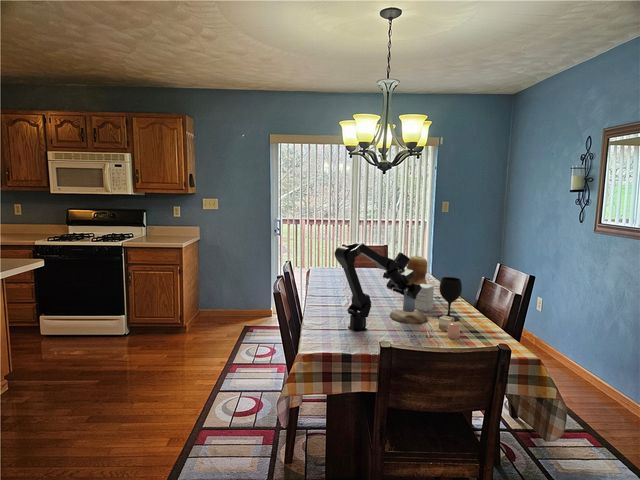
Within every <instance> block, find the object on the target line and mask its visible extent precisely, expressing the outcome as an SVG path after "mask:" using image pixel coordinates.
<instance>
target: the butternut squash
mask: <svg viewBox="0 0 640 480" xmlns="http://www.w3.org/2000/svg"><path fill="white" fill-rule="evenodd" d="M409 259H410V261H409V263H408V264H407V266H406V269H409V270H413V273H414V277H413V278H411V279H410V280H409V281H410V282H409V283H408V284H409V285H411V284H412V283H416V284H427V285H428V283H427V280H426V275H427V272H428V261H427V258H425V257H423V256H419V255H418V256H417V255H412V256H410V257H409Z"/></svg>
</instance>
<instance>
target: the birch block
mask: <svg viewBox="0 0 640 480" xmlns="http://www.w3.org/2000/svg"><path fill="white" fill-rule="evenodd" d="M449 322H454V318H453V317H448V316H442V317H440V318H438V329H440V330H444V331H448V323H449Z"/></svg>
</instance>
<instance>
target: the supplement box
mask: <svg viewBox="0 0 640 480" xmlns="http://www.w3.org/2000/svg"><path fill="white" fill-rule="evenodd" d="M419 285H420V286H421V287H422V289H421V290H420V291H419V293H418V294H417V296H416V297H417V298H416V299H415V309H416V310H420V311H422V312H423V311H424V312H428V311H430V310H432V309H433V307H434V292H435V291H434V287H435V286H434V285H432V284H428V283H427V284H419Z"/></svg>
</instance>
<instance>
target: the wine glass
mask: <svg viewBox="0 0 640 480" xmlns="http://www.w3.org/2000/svg"><path fill="white" fill-rule="evenodd" d="M439 282H440V283H439V294H440V295H441V297H442V298H443V300H444V301H445V302H447V304H448V305H447V314H445V313H444V314H443V313H442V314H439V315H437V318H438V319H439V318H440V317H442V316H448V317H453V318H454V322H456V323H457V322H459V321H460V317H458V316H457V315H453V314H451V306H452V303H453V302H455V301H457V300H458V299H459V298H460V296H461V294H462V291H463V287H462V280H461V279H460V278H457V277H451V276H445V277H441V279H440V281H439Z"/></svg>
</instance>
